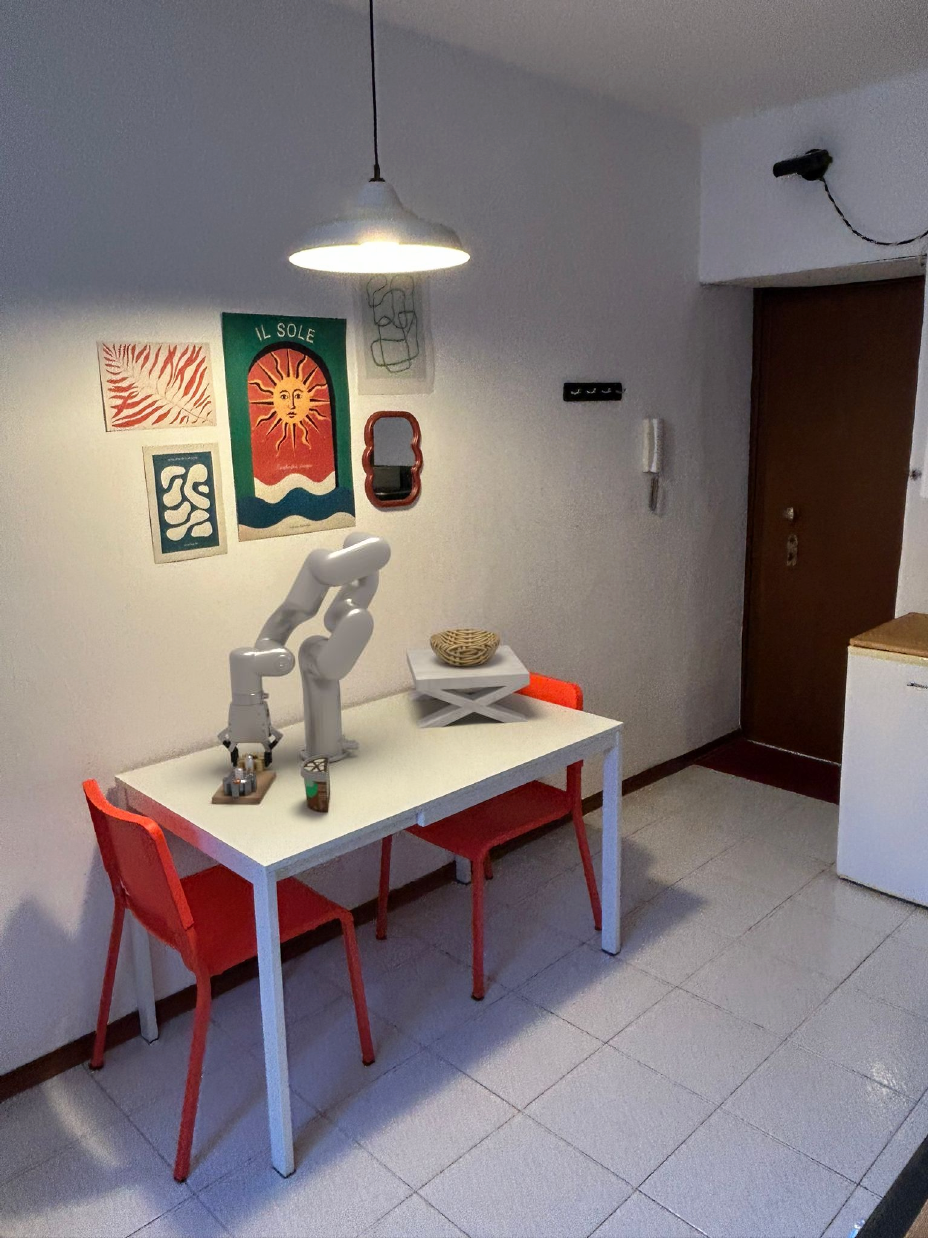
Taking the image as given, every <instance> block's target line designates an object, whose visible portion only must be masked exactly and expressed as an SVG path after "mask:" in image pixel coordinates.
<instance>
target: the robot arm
mask: <svg viewBox="0 0 928 1238" xmlns="http://www.w3.org/2000/svg"><path fill="white" fill-rule="evenodd" d="M391 557H392V550H391V546H390V544H389V542H388V541H387V540H386V539H384V538H383V537H381V536H379V535H375V534H371V533H367V532H365V531H352V532H351V533H349V534H348V535H346V537H345V539H344V541H343V544H342V549H340V550H337V551H334V550H331V549H327V548H316V549H314V550H312V551H310V553H308V555H307V556H306V558H305V560H304V561H303V563H302V565H301V567H300V570H299V572H298V574H296V575H297V576H296V578H295V580H294V582H293V584H292V586H291V588H290V590H289V592H288V594H287V595H286V598H285V599H284V601H283V602H282V603H281V604H280V605H279V606H278V607H277V608H276V610H275V611H273V613H271V615H270V616H269V618H268V619H267V620H266V622H265V623H264V624H263V627H262V628H261V630H260V633H259V634H258V637H257V638H256V640H255V643H254V646H252V647H251V646H244V647H238V648H234V649H232V650H231V651H230V652H229V655H228V660H229V673H230V676H229V677H230V688H231V689H230V691H231V701H230V703H229V708H228V720H227V726H226V727H225V728H224V729H223V730H221V731H220V732H219V733H217V735H216V737H217V739H218V740H219V741H220V742H221V743H222V746H224V747H225V748H226V749H227V750H228V752H229V753H230V755H229V756H230V762H231V764H232V768H237V758H238V757H240V753H239V748H238V747H237V746H238V744H261V746H262V747H263V748H264V752H263V753H264V763H265V767H266V768H269V766H270V765H271V764H272V763H273V749H274V748H275V747H276V746H277V745H278V744H279V742H280V741H281V740H282V739H283V737H284V734H283V733H282V732H280V731H279V730H278V729H276V728H275V727H273V726H272V719H271V713H270V709H269V704H268V701H267V700H268V699H270V698H269V697H270V694H269V692H268V693H267V692H265V690H264V688H263V686H264V685H263V677H265V678H266V677H267V678H268V677H269V678H270V677H271V678H272V677H274V678H279V677H283V676H287V675H289V674H290V673H291V672H292V671H293V670H294V669H295V666H296V656H295V655H294V653H293V651H291V650H290V648H288V647H286V643H287V641H288V639H289V638H290V637H291V635H292V633H293V632H294V631H295V629H296V628H298V627H299V626H300V625H301V624H302V623H305V622H308V621H309V620H311V619H312V618H314V617H316V615H317V614H318V612H319V610H320V608H321V607H322V604H323V601H324V600H325V598H326V597H327V594H328V592H329V590H330V588H332V587H333V588H336V587H340V588H339V590H338V591H337V593H336V595H335V597H334V598H333V600H332V602H331V603H330V605H329V606H328V608H327V610H326V611H325V613H324V616H323V625H324V627H325V629H326V630H327V631H328V632H329V633H330V636H329V637H327V636H324V635H319V634H318V635H317V634H316V635H311V636H308V637H307V638H305V639H304V640H303V641H302V643H301V644H300V646H299V648H298V653H297V660H298V661H297V662H298V667H299V672H300V676H301V677H300V679H301V686H302V696H303V697H302V702H303V718H304V719H303V721H304V724H303V725H304V738H305V746H303V748H302V749H301V750H299V756H300V758H301V759H302V760H303V761H305V760H306V759H308V758H310V757H313V756H316V755H321V754H329V763H333V762H338V761H341V760H343V759H344V758H346V757H348V755H349V753H350V750H354V751H355V750H357V751H358V750H360V742H359V741H357V739H350V740H349V739H347V738H346V734H344V733H343V723H342V722H343V721H342V705H341V704H342V702H341V684H340V681H342V680H343V679H344V678H345V677H346V676H347V675H348V674H349V673H350V672H351V670H352V669H353V668H354V666H355V664H356V663H357V661H358V660H359V657H360V656H361V655H362V653H363V652H364V650H365V648H366V646H367V645H368V643H369V641H370V640H371V637H372V635H373V632H374V627H375V626H374V625H375V624H374V623H375V622H374V617H373V615H372V614H371V612H370V611H369V610H368V608H369V607H370V605H371V602H372V600H373V599H374V597H375V596H376V592H377V590H378V587H379V582H380V570H381V569H382V568H384V567H385V566H386V565H387V564H388V563H389V561H390V559H391ZM226 735H227V736H228V738H227V737H226ZM272 736H273V737H274V740H272V742H271V740H270V739H269V738H271V737H272Z"/></svg>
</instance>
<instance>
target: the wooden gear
mask: <svg viewBox="0 0 928 1238" xmlns="http://www.w3.org/2000/svg"><path fill="white" fill-rule="evenodd" d="M248 755H250V756H252V757H253V768H254V771H268V768H269V767H268V768H266V767H265V763H264V752H263V753H259V752H252V753H243V754H241V756H239V757H238V758H237V766H236V768H237V767H242V768H243V771H246V763H245V758H246V756H248Z"/></svg>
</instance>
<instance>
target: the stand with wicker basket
mask: <svg viewBox="0 0 928 1238" xmlns="http://www.w3.org/2000/svg"><path fill="white" fill-rule="evenodd" d="M500 643H501V638H500V635H498V634H497V633H494V632H493V631H488V630H483V629H469V628H468V629H466V628H465V629H452V630H451V629H450V630H445V631H440V632H436V633H435V634H432V635H431V636H430V637H429V645H430V648H431V649H429V648H428V649H413V650H412V649H409V650H406V662H407V666H408V668H409V671H410V675H411V678H412V681H413V684H414V687H415V691H413V692H411V693H410V694H409V698H410V699H409V700H410V701H412V702H414V701H427V700H428V701H429V700H434V699H438V700H441V701H443V702H447V703H449V704H450V705H447V706H445V707H443V708H441V709H439V710H437V711H435V712H433V713H430V714H429V715H427V716H424V717H422V718H420V719H418V720H417V721H416V722H417V726H418V729H431V728H432V729H434V728H443V727H445V726H447V725H450V724H451V723H453V722H456V721H457V720H459V719H461V718H464V717H466V716H468V715H470V714H472V713H474V712H475V713H477V714H480V715H483V716H485V717H488V718H491V719H493V720H496V721H499V722H502V723H505V724H511V723H526V722H527V723H528V722H529V721H528V719H527V717H526V716H525V714H523V713H520V712H518V711H515V710H513V709H509V708H507V707H504V706H501V705H498V704H495V702H497V701H499V700H501V699H503V698H505V697H507V696H510V695H509V694H511V695H512V693H515V692H517V691H519V690H521V689H523V688H525V687H528V686H530V677H531V676H530V675H531V674H530V672H529V671H528V669H527V668H526V666H525V665H524V664H523V663H522V661H521V660H520V659H519V657H518V656H517V655H516V653H515V652H514V651H513V650H512V648H511V647H510V646H509V645H508V644H507V645H505V644H504V645H500ZM459 689H470V690H473V691H476V692H474V693H472V694H468V693H465V692H463V691H459Z"/></svg>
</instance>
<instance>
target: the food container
mask: <svg viewBox="0 0 928 1238" xmlns="http://www.w3.org/2000/svg"><path fill="white" fill-rule="evenodd" d="M300 777H302V778H303V781H304V788H305V789H304V790H305V797H306V805H307V809H309V810H311V811H312V812H317V813H329V811H330V810H329V809H330V803H331V780H330V778H331V775H330V762H329V754H321V755H316V756H313V757H310V758H308V759H306V760H303V762H302V765H301V766H300Z"/></svg>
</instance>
